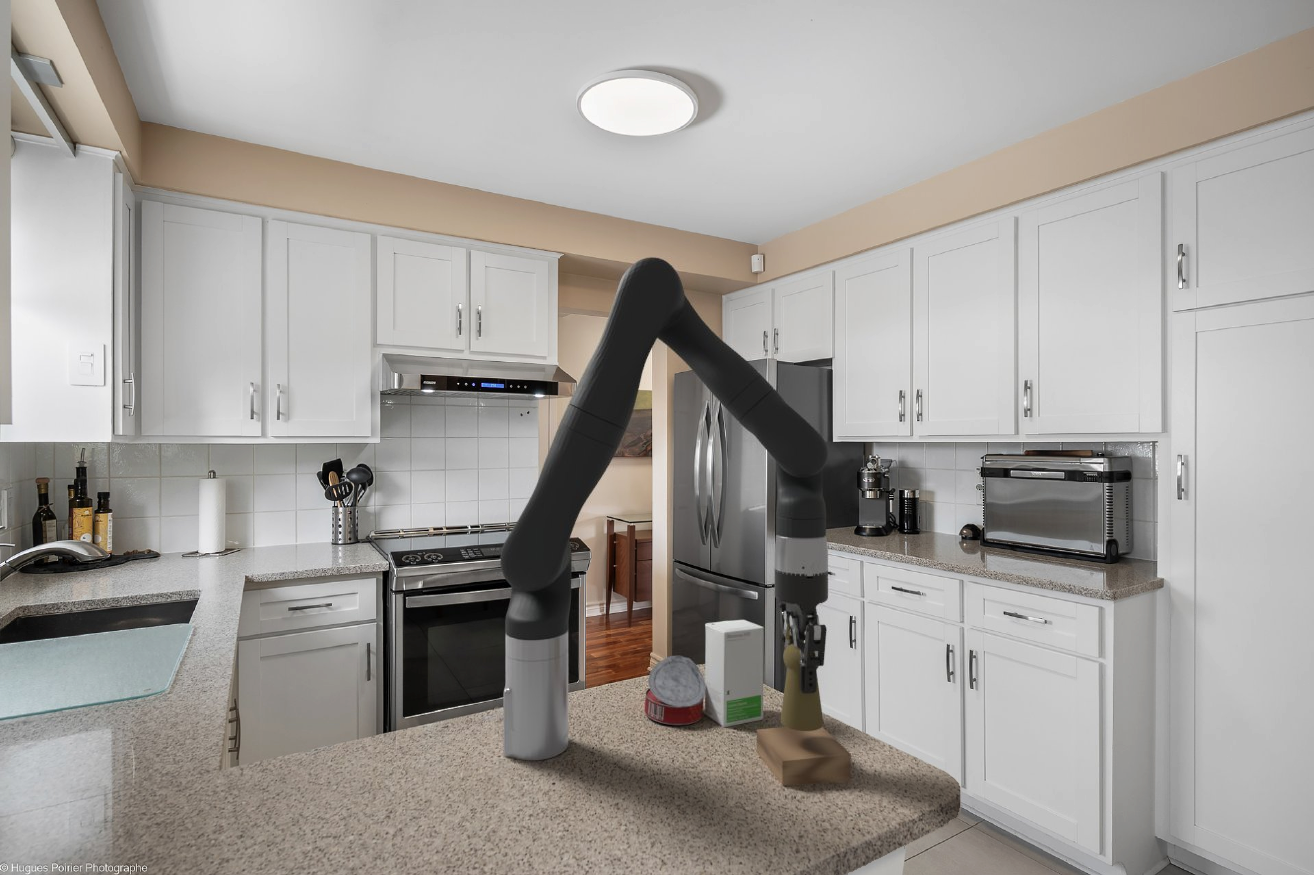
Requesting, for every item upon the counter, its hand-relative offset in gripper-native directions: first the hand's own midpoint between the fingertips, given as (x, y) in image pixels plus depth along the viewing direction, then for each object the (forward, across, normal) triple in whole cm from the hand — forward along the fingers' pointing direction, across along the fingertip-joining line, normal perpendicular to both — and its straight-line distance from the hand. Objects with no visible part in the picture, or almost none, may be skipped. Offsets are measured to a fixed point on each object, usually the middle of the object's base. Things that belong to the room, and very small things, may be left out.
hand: (801, 684), depth 96 cm
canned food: (+13, -20, -18) cm, 30 cm away
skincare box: (+12, -18, -6) cm, 22 cm away
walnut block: (+12, 0, 0) cm, 12 cm away
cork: (+6, 0, 0) cm, 6 cm away
